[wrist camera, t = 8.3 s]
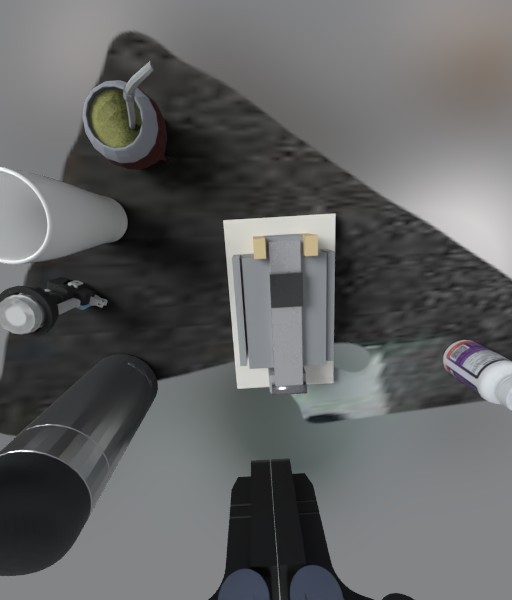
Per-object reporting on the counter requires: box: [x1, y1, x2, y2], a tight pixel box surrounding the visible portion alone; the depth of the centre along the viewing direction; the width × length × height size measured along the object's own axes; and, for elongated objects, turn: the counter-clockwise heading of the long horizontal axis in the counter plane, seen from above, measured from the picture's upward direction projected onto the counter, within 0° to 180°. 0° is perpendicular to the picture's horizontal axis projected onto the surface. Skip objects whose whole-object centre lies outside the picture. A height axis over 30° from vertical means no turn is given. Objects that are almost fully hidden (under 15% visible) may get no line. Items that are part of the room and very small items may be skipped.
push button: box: [0, 277, 107, 339], centre depth 32 cm, size 7×5×10 cm
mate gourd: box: [83, 61, 170, 169], centre depth 25 cm, size 8×8×15 cm
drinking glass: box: [0, 167, 128, 264], centre depth 27 cm, size 7×7×15 cm
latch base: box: [223, 214, 335, 393], centre depth 34 cm, size 22×13×7 cm, turn 3°
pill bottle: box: [443, 340, 512, 411], centre depth 35 cm, size 5×5×10 cm
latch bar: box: [268, 240, 307, 395], centre depth 32 cm, size 18×4×2 cm, turn 3°
